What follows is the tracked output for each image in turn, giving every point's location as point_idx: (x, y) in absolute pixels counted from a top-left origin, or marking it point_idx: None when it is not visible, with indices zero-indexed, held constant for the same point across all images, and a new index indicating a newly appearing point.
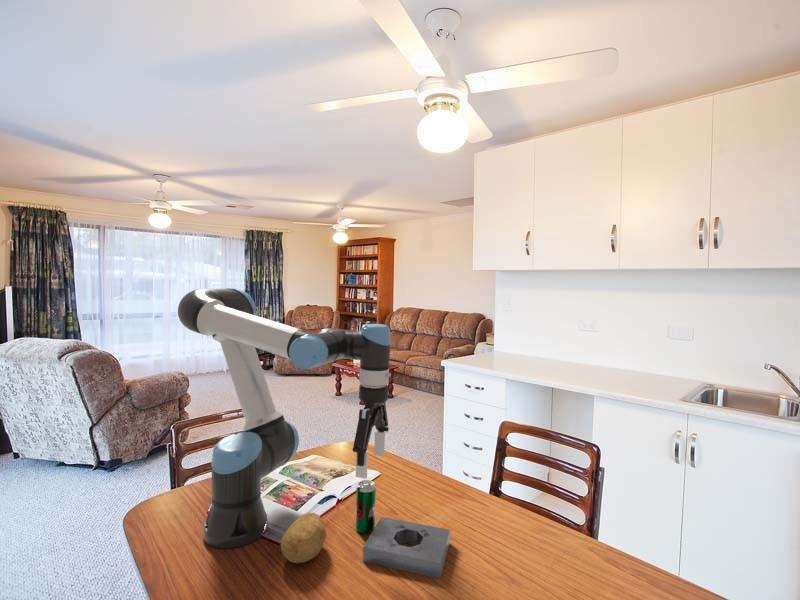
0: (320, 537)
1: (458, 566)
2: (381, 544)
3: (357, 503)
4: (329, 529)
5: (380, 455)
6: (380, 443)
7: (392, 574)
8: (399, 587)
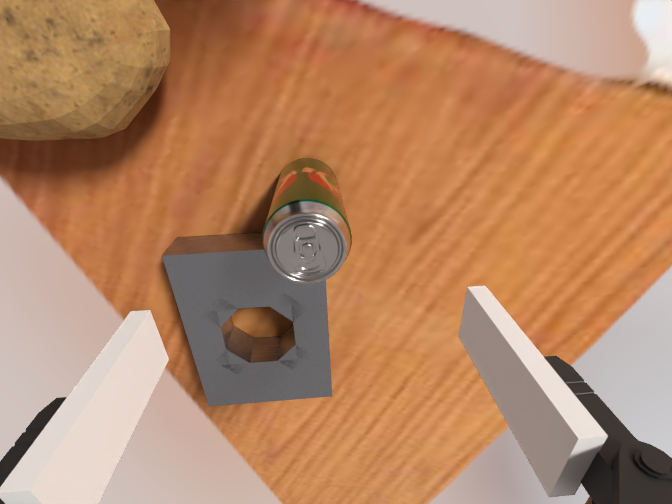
0: (61, 137)
1: None
2: (198, 292)
3: (274, 198)
4: (257, 72)
5: (462, 325)
6: (501, 385)
7: (177, 307)
8: None
